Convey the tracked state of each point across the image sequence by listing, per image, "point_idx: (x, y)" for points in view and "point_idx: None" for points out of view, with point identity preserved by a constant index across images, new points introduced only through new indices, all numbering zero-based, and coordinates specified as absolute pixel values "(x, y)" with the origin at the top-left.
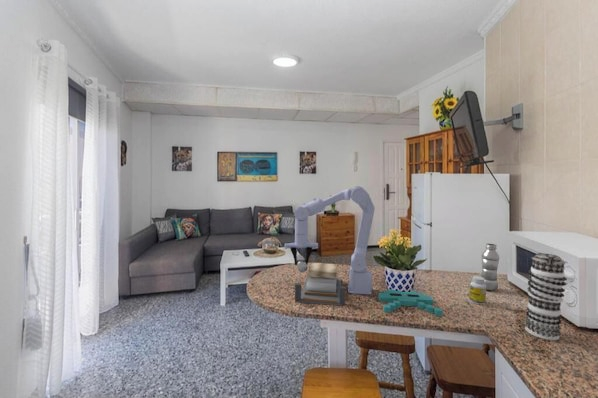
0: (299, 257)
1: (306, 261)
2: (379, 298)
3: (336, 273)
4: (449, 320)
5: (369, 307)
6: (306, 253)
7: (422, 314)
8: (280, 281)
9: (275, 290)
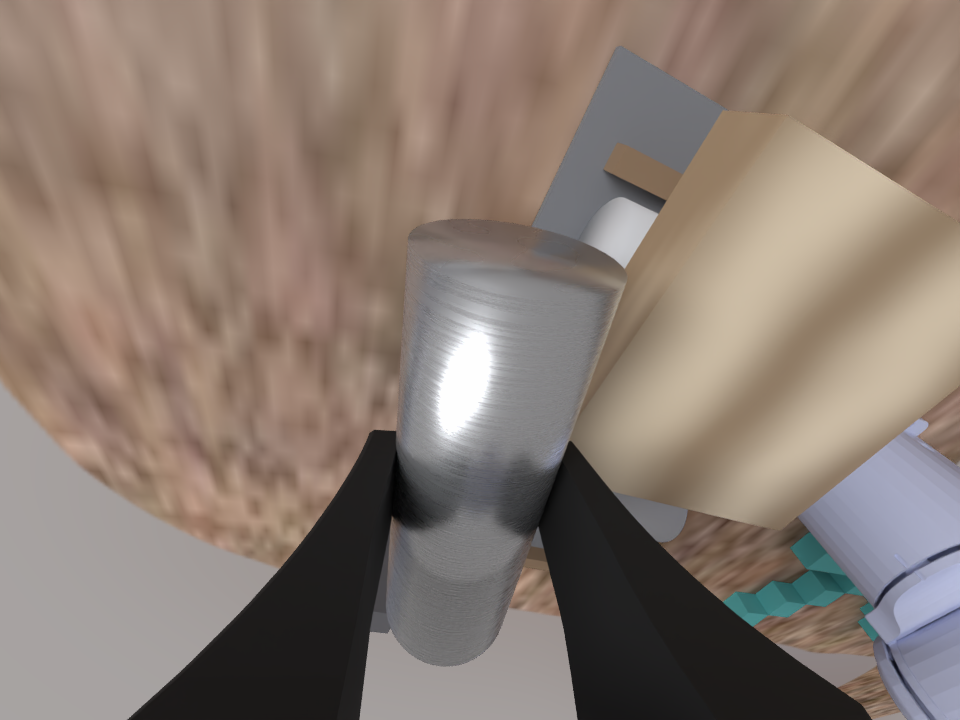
0: (472, 464)
1: (549, 552)
2: (807, 548)
3: (774, 523)
4: (855, 638)
5: (698, 580)
6: (594, 710)
7: (825, 617)
8: (237, 145)
9: (216, 373)
